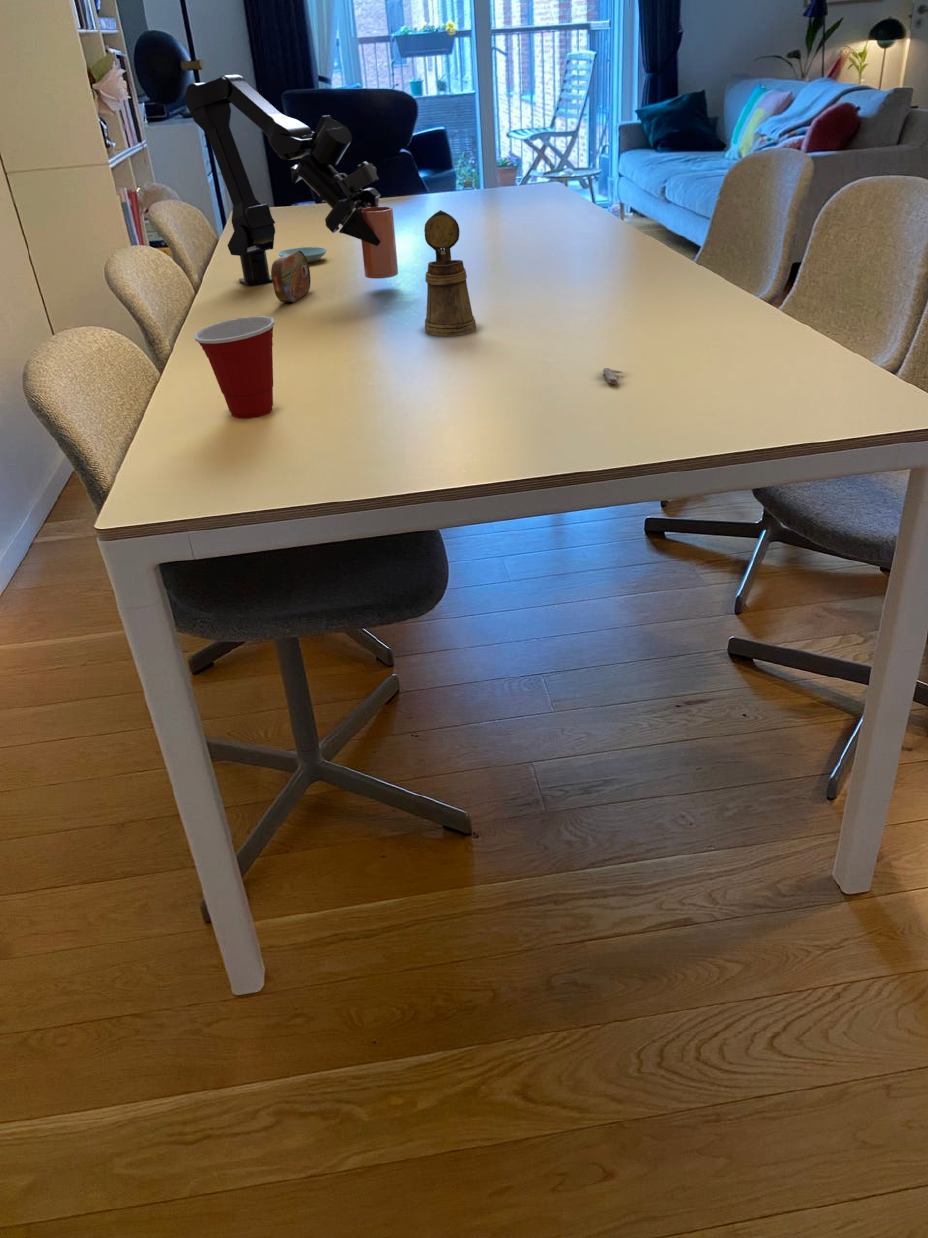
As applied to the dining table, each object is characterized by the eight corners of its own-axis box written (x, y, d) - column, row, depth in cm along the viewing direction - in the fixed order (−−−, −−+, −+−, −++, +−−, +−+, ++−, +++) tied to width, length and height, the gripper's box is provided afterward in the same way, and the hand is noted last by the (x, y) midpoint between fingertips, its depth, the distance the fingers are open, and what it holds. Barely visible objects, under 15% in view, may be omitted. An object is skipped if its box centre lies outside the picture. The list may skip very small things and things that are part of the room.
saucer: (323, 254, 226) (322, 244, 225) (332, 262, 216) (331, 251, 215) (276, 259, 223) (274, 250, 222) (283, 268, 214) (281, 257, 212)
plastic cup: (217, 402, 131) (199, 317, 124) (292, 396, 131) (278, 311, 125) (205, 429, 121) (185, 338, 115) (286, 422, 122) (270, 331, 116)
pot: (359, 274, 188) (352, 209, 181) (388, 269, 190) (382, 205, 184) (374, 280, 183) (367, 212, 176) (403, 274, 185) (398, 208, 179)
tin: (288, 306, 180) (281, 261, 175) (273, 306, 180) (266, 262, 176) (313, 289, 192) (307, 246, 188) (300, 289, 193) (293, 247, 188)
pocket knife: (629, 380, 126) (608, 378, 126) (628, 386, 127) (607, 384, 126) (621, 368, 131) (601, 366, 131) (620, 373, 132) (600, 372, 131)
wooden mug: (472, 315, 165) (466, 207, 155) (478, 334, 154) (472, 219, 144) (423, 318, 165) (414, 211, 155) (425, 338, 153) (416, 224, 144)
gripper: (332, 153, 167) (395, 217, 171) (365, 143, 182) (422, 201, 186) (299, 201, 173) (360, 261, 177) (334, 187, 189) (389, 243, 192)
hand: (384, 240), depth 183 cm, fingers closed on pot, 7 cm apart
